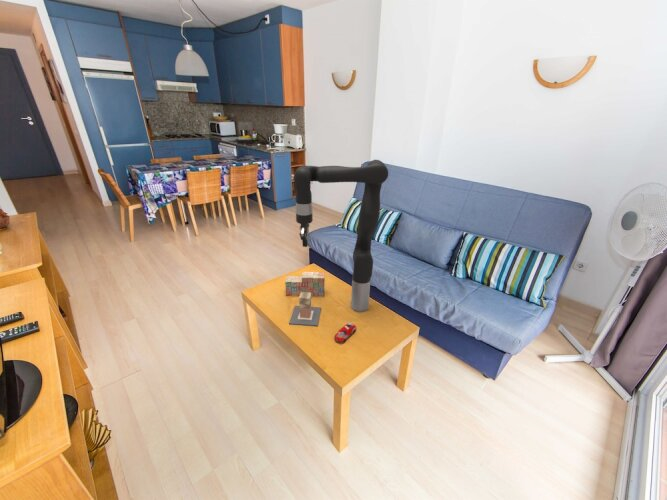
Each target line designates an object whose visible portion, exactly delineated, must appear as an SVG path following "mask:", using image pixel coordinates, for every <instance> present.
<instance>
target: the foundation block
mask: <svg viewBox="0 0 667 500" xmlns="http://www.w3.org/2000/svg"><path fill="white" fill-rule="evenodd" d="M311 307H312V304H311V305H310V309H306V308H300V318H310V316H311Z"/></svg>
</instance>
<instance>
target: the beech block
mask: <svg viewBox="0 0 667 500" xmlns="http://www.w3.org/2000/svg"><path fill="white" fill-rule="evenodd" d="M310 305H311V306H312V296H311V293H308V292H301V293H300V296H298V306H299V308H306V309H310Z"/></svg>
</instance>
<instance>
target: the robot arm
mask: <svg viewBox="0 0 667 500" xmlns="http://www.w3.org/2000/svg"><path fill="white" fill-rule="evenodd" d="M388 177H389V169H388V167H387V165H386V164H385V163H384V162H383V161H381V160H380V159H373V160H370V161H369V162H368V163H367V164H366V165H364V166H357V167H356V166H355V167H354V166H343V165H323V166H318V165H317V166H316V165H301V166H299V167H297V168H296V170H295V172H294V176H293V183H294V190H295V219H296V220H295V221H296V223H297V224H299V225H300V226H299V231H300V232H299V237H300V240H301V243H302V247H303V248H307V247H308V244H309V243H308V239H309V234H310V224H311V223H313V202H312V201H313V199H312V197H313V195H312V194H313V193H312V191H311V184H312V183H311V182H318V183H320V184H327V183H328V184H330V183H332V184H333V183H362V184H363V183H364V189H363V190H364V191H363V195H362V198H361V199H362V200H361V202H360V208H359V215H358V220H357V222H358V223H357V233H356V234H357V235H356V236H357V237H356V240H355V241H356V242H355V245H354V249H353V252H352V259H353V273H352V274H351V275H352V276H351V277H352V281H351V294H350V295H351V297H350V298H351V299H350V307H351V309H352V310H353V311H355V312H360V313H361V312H366V311H369V305H370V291H371V280H372V276H373V269H374V268H373V267H374V259H373V256H372V253H371V251H372V249H371V246H372V239H373V236H374V235H375V234H376V233H375V232H376V231H377V228H378V224H379V221H380V220H379V219H380V214H381V190H382V185H383V183H385V182H386V180H387V179H388Z"/></svg>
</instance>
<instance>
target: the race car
mask: <svg viewBox="0 0 667 500" xmlns="http://www.w3.org/2000/svg"><path fill="white" fill-rule="evenodd" d="M356 330H357V326H356V324H355V323H353V322H347V323H346V324H345V325H343V326H342V328H339V329H338V332H337V333H335V335H334V337H333V338H334V341H335V342H336V343H338V344H345V342H346V341H347V340H348V339H349V338H351V336H352V335H353V334H354V333H355V332H356Z"/></svg>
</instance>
